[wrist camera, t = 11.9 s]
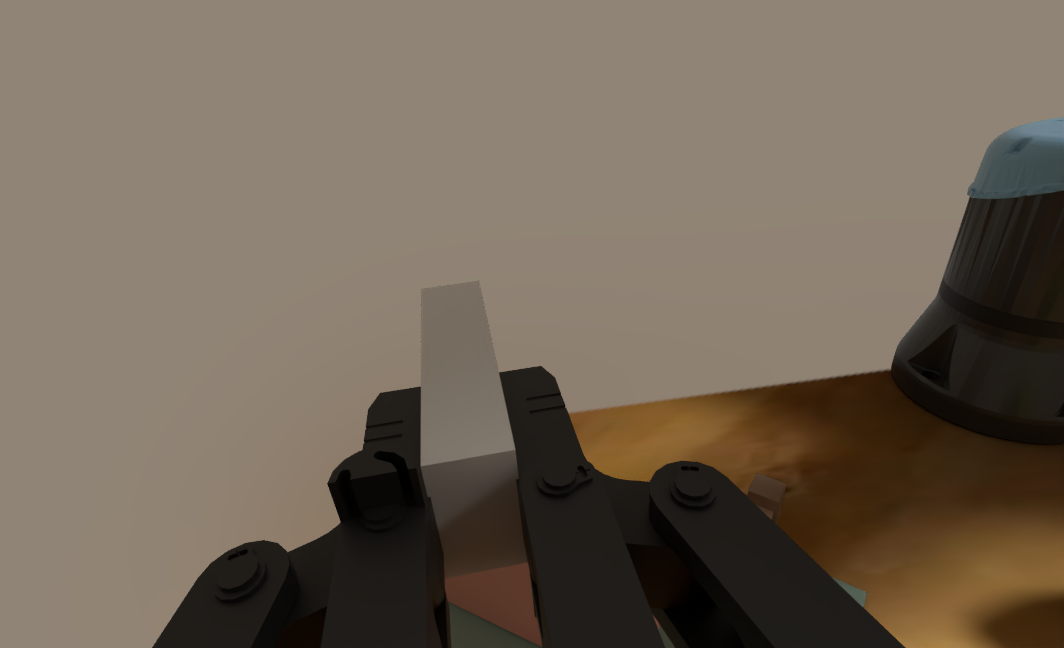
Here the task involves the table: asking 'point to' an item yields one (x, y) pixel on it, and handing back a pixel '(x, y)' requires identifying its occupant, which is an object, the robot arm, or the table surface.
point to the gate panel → (499, 598)
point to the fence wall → (767, 495)
